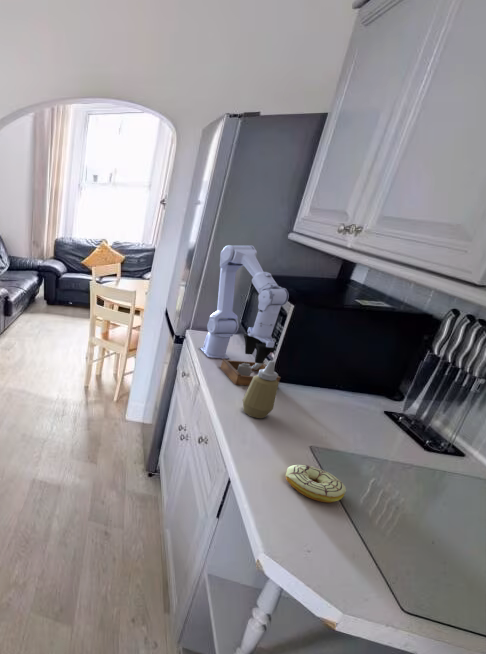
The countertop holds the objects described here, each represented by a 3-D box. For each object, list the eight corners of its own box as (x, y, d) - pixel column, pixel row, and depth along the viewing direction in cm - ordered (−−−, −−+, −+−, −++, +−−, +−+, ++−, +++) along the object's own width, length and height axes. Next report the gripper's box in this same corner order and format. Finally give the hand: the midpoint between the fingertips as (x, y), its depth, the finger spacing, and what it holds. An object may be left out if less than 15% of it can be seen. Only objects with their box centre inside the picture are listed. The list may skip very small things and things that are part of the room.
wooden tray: (219, 367, 151) (222, 358, 150) (258, 370, 149) (261, 361, 148) (234, 384, 139) (238, 374, 137) (277, 388, 137) (280, 377, 136)
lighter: (236, 376, 145) (242, 356, 142) (235, 374, 146) (241, 354, 143) (258, 380, 142) (265, 360, 139) (258, 378, 143) (264, 359, 140)
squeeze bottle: (260, 407, 125) (278, 356, 118) (275, 421, 118) (295, 368, 111) (234, 405, 126) (250, 354, 119) (247, 419, 119) (265, 366, 111)
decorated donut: (298, 468, 99) (303, 456, 97) (350, 496, 90) (356, 483, 89) (274, 481, 94) (279, 468, 93) (326, 512, 86) (333, 498, 84)
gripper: (243, 315, 143) (232, 349, 148) (262, 329, 129) (250, 366, 135) (264, 316, 142) (253, 350, 147) (286, 330, 128) (273, 367, 134)
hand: (253, 358), depth 141 cm, fingers open, 7 cm apart
